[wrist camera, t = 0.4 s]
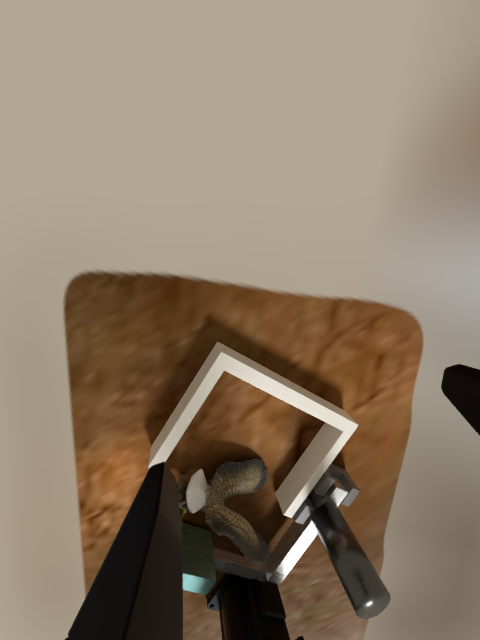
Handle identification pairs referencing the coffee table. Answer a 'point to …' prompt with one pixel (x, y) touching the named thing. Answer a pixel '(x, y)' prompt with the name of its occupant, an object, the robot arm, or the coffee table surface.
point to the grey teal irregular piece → (293, 556)
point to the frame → (257, 375)
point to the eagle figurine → (220, 518)
